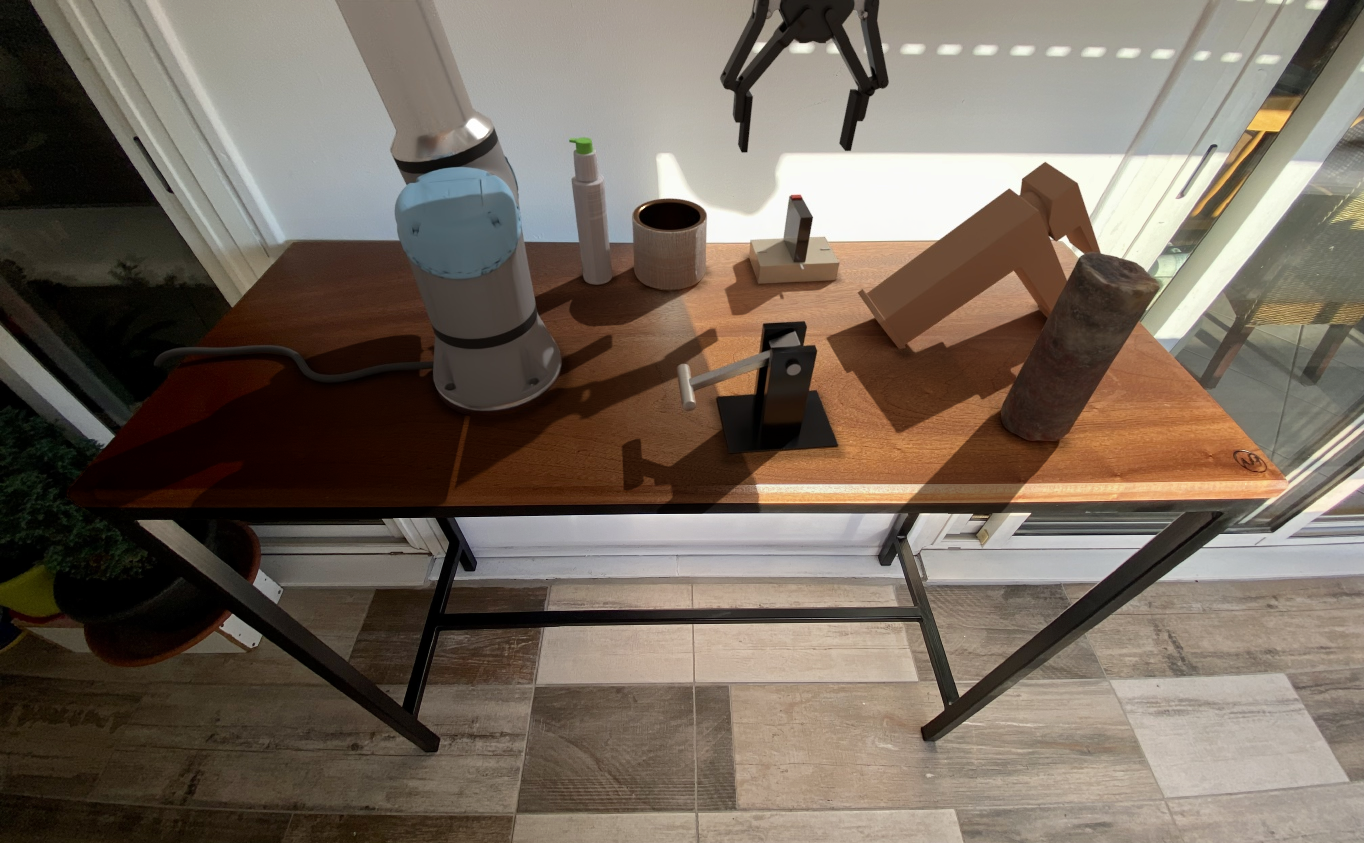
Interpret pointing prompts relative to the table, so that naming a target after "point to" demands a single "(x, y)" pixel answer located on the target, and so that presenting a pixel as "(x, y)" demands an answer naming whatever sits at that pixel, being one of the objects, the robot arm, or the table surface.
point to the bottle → (591, 214)
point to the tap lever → (726, 371)
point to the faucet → (988, 256)
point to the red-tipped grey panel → (797, 228)
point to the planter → (669, 243)
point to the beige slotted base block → (779, 267)
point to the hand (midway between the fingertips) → (794, 148)
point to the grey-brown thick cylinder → (1077, 345)
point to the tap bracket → (778, 401)
